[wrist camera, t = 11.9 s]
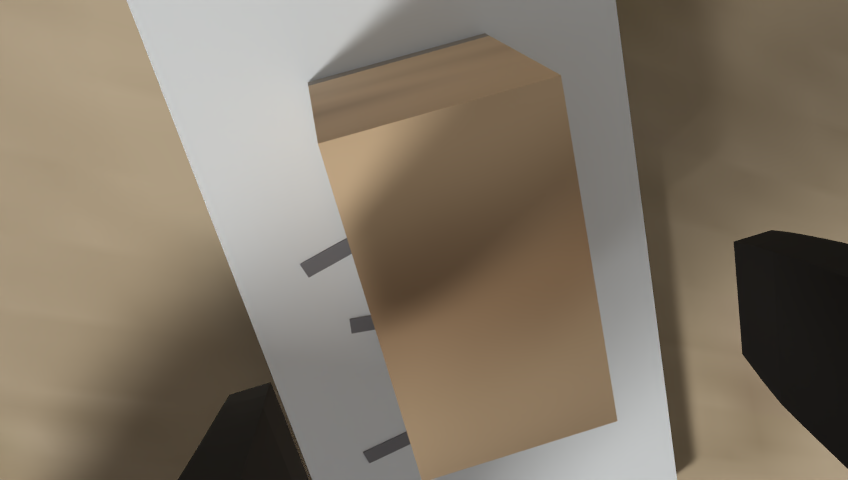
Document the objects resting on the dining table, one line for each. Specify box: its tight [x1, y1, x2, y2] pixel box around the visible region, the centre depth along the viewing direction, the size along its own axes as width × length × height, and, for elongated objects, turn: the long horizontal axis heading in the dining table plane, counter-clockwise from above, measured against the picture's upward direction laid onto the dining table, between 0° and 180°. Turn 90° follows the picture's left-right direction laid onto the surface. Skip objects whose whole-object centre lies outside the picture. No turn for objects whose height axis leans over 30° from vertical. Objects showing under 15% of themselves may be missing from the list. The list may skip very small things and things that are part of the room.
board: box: [127, 0, 677, 480], centre depth 20 cm, size 18×10×1 cm, turn 14°
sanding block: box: [308, 33, 618, 480], centre depth 16 cm, size 7×4×5 cm, turn 14°
